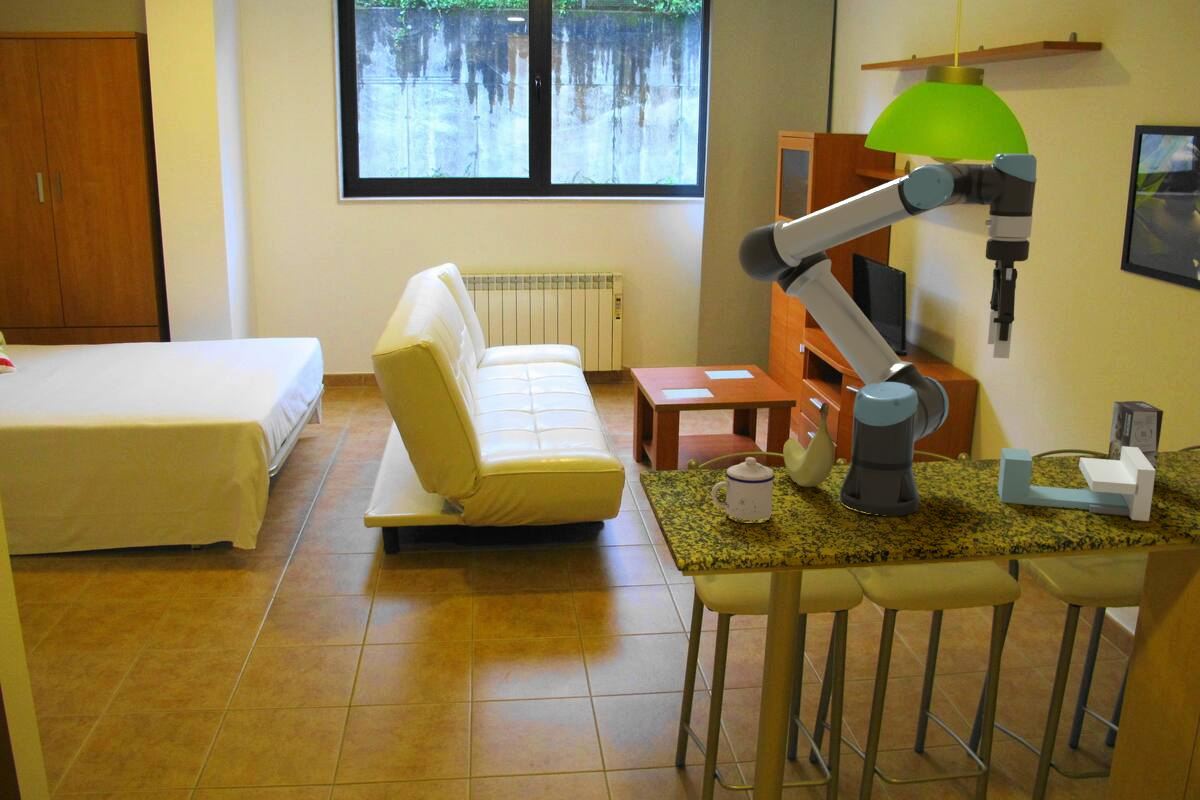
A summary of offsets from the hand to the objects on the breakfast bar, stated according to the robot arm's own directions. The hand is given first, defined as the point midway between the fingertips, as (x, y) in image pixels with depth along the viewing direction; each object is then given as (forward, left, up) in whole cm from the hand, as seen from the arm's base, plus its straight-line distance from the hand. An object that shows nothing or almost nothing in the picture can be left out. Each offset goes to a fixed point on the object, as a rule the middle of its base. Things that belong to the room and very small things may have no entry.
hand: (997, 350), depth 208 cm
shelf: (+24, +6, -31) cm, 40 cm away
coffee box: (+31, +25, -31) cm, 50 cm away
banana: (-35, +2, -31) cm, 47 cm away
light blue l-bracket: (+15, +6, -31) cm, 35 cm away
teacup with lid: (-45, -21, -31) cm, 58 cm away
